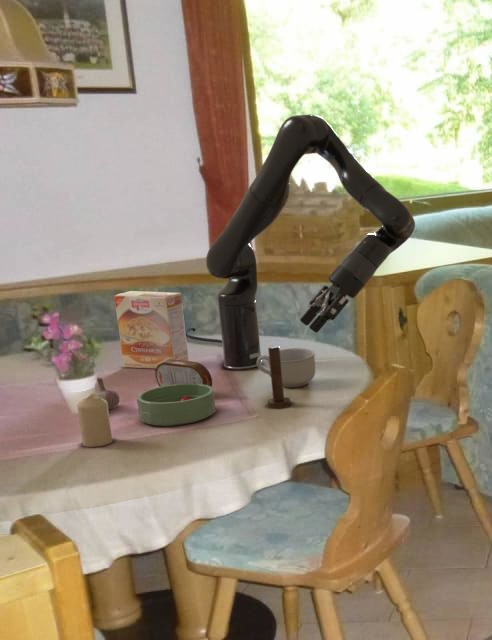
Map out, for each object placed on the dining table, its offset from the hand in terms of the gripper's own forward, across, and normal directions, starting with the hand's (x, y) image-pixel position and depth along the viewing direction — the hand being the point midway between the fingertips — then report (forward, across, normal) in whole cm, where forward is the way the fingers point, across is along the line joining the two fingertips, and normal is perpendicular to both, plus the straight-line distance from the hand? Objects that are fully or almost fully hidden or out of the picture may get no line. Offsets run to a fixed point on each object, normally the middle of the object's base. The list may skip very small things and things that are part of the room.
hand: (307, 326), depth 237 cm
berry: (+30, -6, -8) cm, 32 cm away
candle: (+46, +8, -20) cm, 50 cm away
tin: (+31, -20, -5) cm, 37 cm away
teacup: (+14, -17, +11) cm, 25 cm away
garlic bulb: (+43, -17, -18) cm, 50 cm away
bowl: (+33, -3, -8) cm, 34 cm away
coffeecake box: (+32, -54, -7) cm, 63 cm away
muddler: (+18, 0, +7) cm, 20 cm away
